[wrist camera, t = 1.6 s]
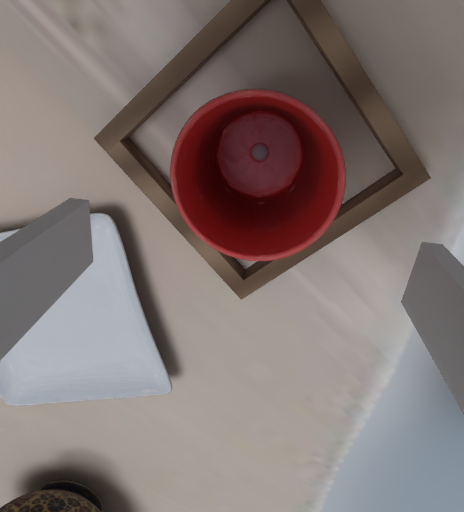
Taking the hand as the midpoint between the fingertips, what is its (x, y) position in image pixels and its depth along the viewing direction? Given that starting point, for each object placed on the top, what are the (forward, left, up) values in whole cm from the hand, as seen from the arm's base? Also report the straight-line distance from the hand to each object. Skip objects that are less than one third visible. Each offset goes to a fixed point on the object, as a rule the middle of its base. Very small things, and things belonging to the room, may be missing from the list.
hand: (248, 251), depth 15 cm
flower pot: (0, 0, -19) cm, 19 cm away
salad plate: (0, -27, -20) cm, 33 cm away
